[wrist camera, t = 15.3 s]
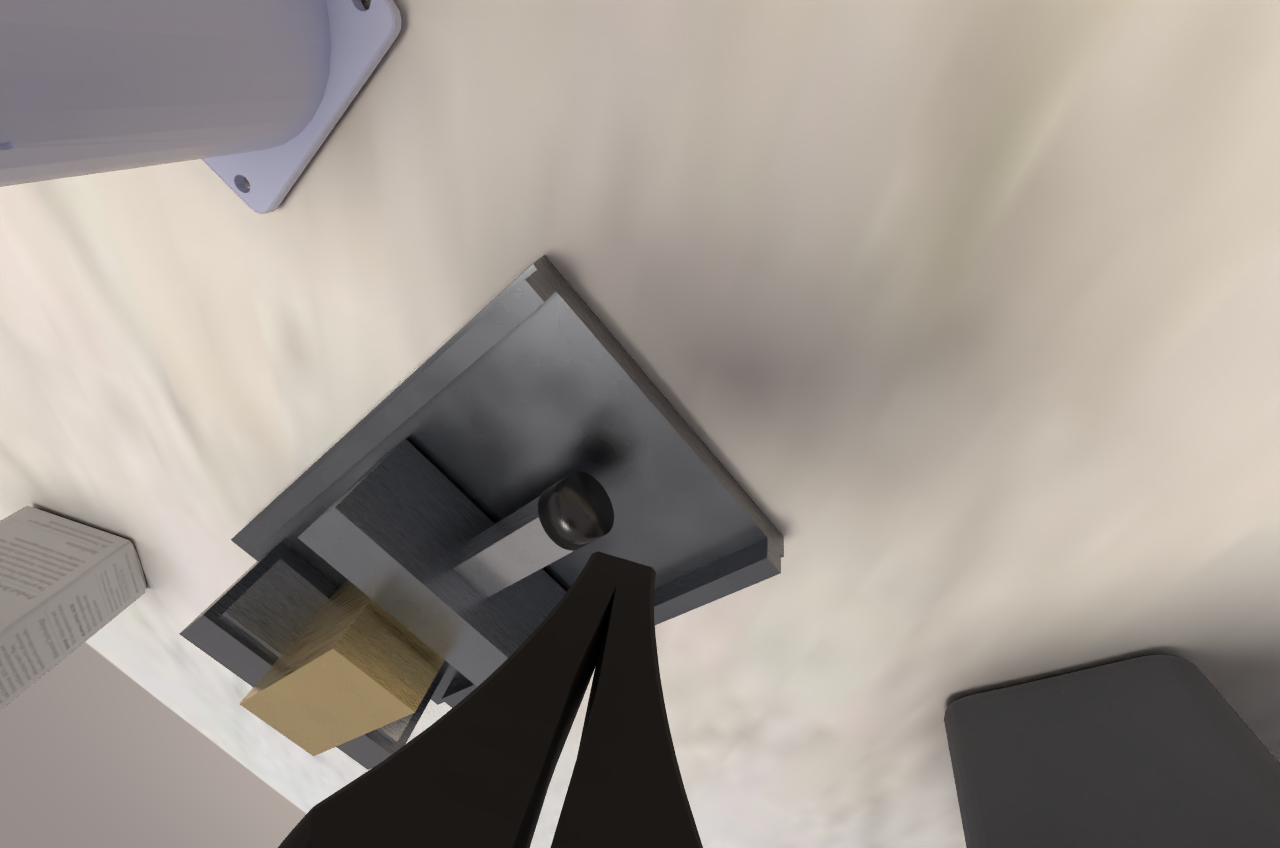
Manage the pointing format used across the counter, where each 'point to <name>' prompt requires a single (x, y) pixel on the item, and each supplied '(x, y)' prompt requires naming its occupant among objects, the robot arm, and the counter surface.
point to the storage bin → (1112, 763)
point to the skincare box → (57, 591)
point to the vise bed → (509, 480)
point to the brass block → (344, 675)
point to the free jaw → (456, 555)
